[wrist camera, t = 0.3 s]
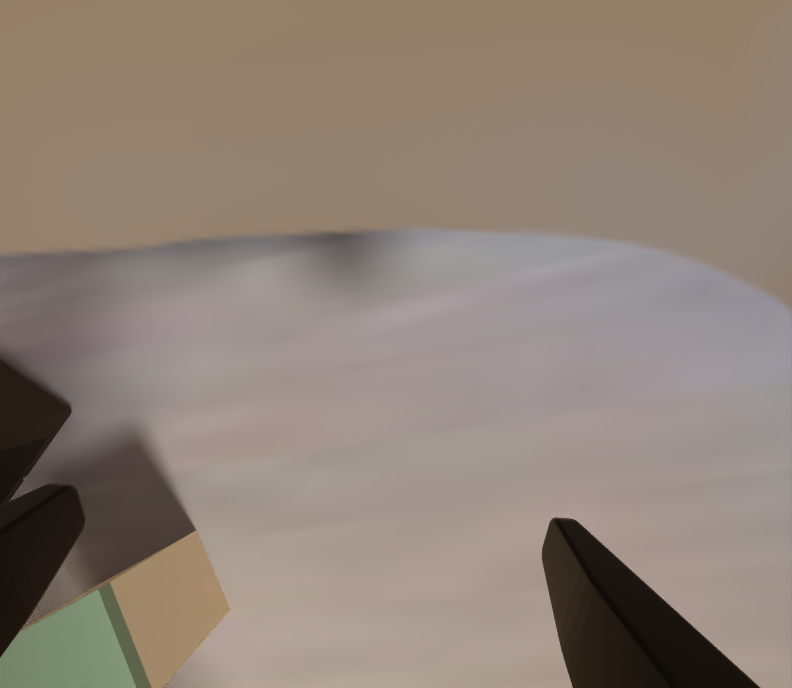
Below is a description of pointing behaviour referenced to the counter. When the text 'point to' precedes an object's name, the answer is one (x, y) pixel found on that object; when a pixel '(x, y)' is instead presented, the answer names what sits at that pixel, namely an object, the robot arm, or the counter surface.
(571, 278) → the counter surface
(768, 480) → the counter surface
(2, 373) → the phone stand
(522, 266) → the counter surface
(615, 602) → the robot arm
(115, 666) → the block
